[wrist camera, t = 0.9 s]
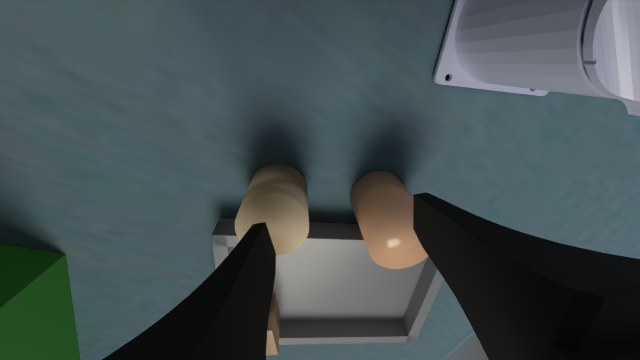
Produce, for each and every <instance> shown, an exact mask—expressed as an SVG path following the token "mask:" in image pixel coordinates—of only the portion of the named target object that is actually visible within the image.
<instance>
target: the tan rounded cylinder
mask: <svg viewBox="0 0 640 360" xmlns="http://www.w3.org/2000/svg"><path fill="white" fill-rule="evenodd" d="M350 202H351V205H352V208H353V211H354V214H355V216H356V219H357V222H358V225H359V227H360V230H361V233H362V236H363V238H364V241H365V244H366V247H367V249H368V252H369V255H370V257H371V258H372V260H373V261H374V262H375V263H377V264H378V265H380V266H382V267H385V268H389V269H403V268H407V267H411V266H413V265H416V264H418V263H420V262H421V261H423V260H424V259H426V258H427V257H428V255H427V253H426V252H425V250H424V249H423V247H422V245H421V244H420V242H419V240H418V238H417V236H416V234H415V231H414V229H413V203H414V196H413V195H412V194H411V193H410V191H409V190H408V189H407V188H406V187H405V186H404V184H403V183H402V182H401V181H400V180H399V179H398V177H397V176H395V175H394V174H392V173H390V172H387V171H374V172H370V173H368V174H366V175H364V176H362V177H361V178H360V179H358V180H357V182H356V183H355V184H354V186H353V187H352V190H351V193H350Z"/></svg>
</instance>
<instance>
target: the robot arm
mask: <svg viewBox="0 0 640 360" xmlns="http://www.w3.org/2000/svg"><path fill="white" fill-rule="evenodd" d="M447 74H449V79H448V80H447V81H446V80H445V77H446V75H447ZM433 80H434V82H435V83H437V84H444V85H452V86H461V87H469V88H478V89H486V90H495V91H503V92H512V93H520V94H529V95H537V96H544V95H546V94H547V93H548V92H549V91H553V92H562V93H570V94H579V95H587V96H596V97H604V98H614V99H618V100H621V101H622V102H623V103H624V104H625V105H626V107H627V111H628V114H631V115H637V116H640V0H455V3H454V7H453V10H452V13H451V17H450V20H449V24H448V27H447V31H446V34H445V38H444V41H443V45H442V48H441V51H440V55H439V58H438V62H437V65H436V69H435V72H434V76H433ZM530 89H531V90H530ZM413 229H414V231H415V234H416V236H417V238H418V240H419V242H420V244H421V245H422V247H423V249H424V250H425V252H426V253H427V255H428V256H429V258H430V259H431V261H432V262H433V263H434V265H435V266H436V268H437V269H438V271H439V272H440V274H441V275H442V277H443V278H444V279H445V281H446V282H447V284H448V285H449V287H450V288H451V290H452V291H453V293H454V295H455V296H456V298H457V300H458V302H459V303H460V305H461V307H462V309H463V311H464V312H465V314H466V316H467V318H468V320H469V322H470V324H471V326H472V327H473V329H474V331H475V333H476V335H477V337H478V339H479V341H480V343H481V345H482V347H483V349H484V351H485V353H486V355H487V357H488V359H489V360H640V259H635V258H629V257H624V256H618V255H612V254H606V253H601V252H597V251H592V250H587V249H583V248H578V247H574V246H569V245H565V244H561V243H557V242H553V241H550V240H546V239H542V238H539V237H535V236H532V235H529V234H525V233H522V232H519V231H516V230H513V229H510V228H507V227H504V226H501V225H499V224H496V223H493V222H491V221H489V220H486V219H484V218H481V217H479V216H476V215H474V214H472V213H470V212H467V211H465V210H463V209H461V208H459V207H457V206H454V205H452V204H450V203H448V202H446V201H444V200H442V199H440V198H438V197H436V196H433V195H431V194H429V193H421V194H415V195H414V203H413ZM275 274H276V252H275V249H274V246H273V243H272V240H271V237H270V234H269V231H268V228H267V225H266V222H262V223H257V224H253V225H252V226H251V227H250V228H249V230H248V231H247V232H246V234H245V235H244V236H243V237H242V239H241V240H240V241H239V243H238V244H237V245H236V246H235V248H234V249H233V250H232V251H231V252H230V254H229V255H228V256H227V257H226V258H225V259H224V261H223V262H222V263H221V264H220V265H219V266H218V267H217V268H216V270H215V271H214V272H213V273H212V274H211V275H210V276H209V277H208V278H207V279H206V280H205V281H204V282H203V283H202V284H201V285H200V286H199V287H198V288H197V289H196V290H195V291H193V292H192V293H191V294H190V295H189V296H188V297H187V298H185V299H184V300H183V301H182V302H181V303H180V304H178V305H177V306H176V307H175V308H174V309H172V310H171V311H170V312H169V313H168V314H166V315H165V316H164V317H162V318H161V319H160V320H159V321H157V322H156V323H155V324H153V325H152V326H151V327H149V328H148V329H146V330H145V331H144V332H142V333H141V334H140V335H138V336H137V337H135V338H134V339H132V340H131V341H129V342H128V343H127V344H125V345H124V346H122V347H121V348H119V349H118V350H116V351H115V352H113V353H112V354H110V355H109V356H107V357H106V358H104V359H102V360H266V345H267V329H268V320H269V313H270V307H271V301H272V294H273V288H274V281H275Z"/></svg>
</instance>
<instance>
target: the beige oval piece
mask: <svg viewBox="0 0 640 360" xmlns="http://www.w3.org/2000/svg"><path fill="white" fill-rule="evenodd" d="M262 222H266V225H267V228H268V231H269V234H270V237H271V240H272V243H273V246H274V249H275V252H276V256H279V255H284V254H287V253H290V252H292V251H294V250H296V249H297V248H299V247H300V246H301V245H302V244H303V243H304V241H305V240H306V238H307V236H308V233H309V215H308V198H307V185H306V182H305V179H304V177H303V176H302V175H301V173H300V172H299V171H297V170H296V169H295V168H293V167H291V166H288V165H285V164H270V165H266V166H264V167H262V168H260V169H259V170H258V171H257V172H256V173H255V174H254V175H253V177H252V179H251V182H250V184H249V187H248V189H247V191H246V194H245V196H244V199H243V201H242V204H241V206H240V209H239V211H238V214H237V216H236V219H235V232H236V235H237V237H238V239H239V240H241V239H242V237H243V236H244V235H245V234H246V232H247V231H248V230H249V228H250V227H251V226H252V225H253V224H257V223H262Z"/></svg>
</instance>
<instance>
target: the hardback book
mask: <svg viewBox="0 0 640 360" xmlns="http://www.w3.org/2000/svg"><path fill="white" fill-rule="evenodd" d="M0 360H80V354H79V347H78V340H77V332H76V325H75V318H74V311H73V304H72V296H71V289H70V282H69V275H68V267H67V260H66V254H61V253H55V252H49V251H43V250H37V249H31V248H25V247H18V246H12V245H6V244H0Z"/></svg>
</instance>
